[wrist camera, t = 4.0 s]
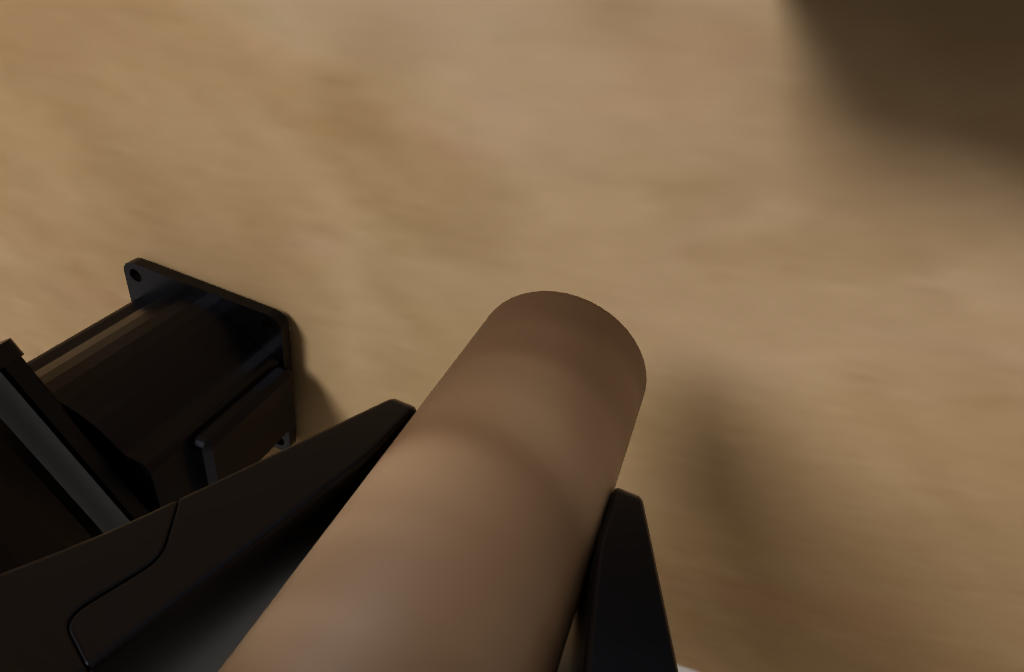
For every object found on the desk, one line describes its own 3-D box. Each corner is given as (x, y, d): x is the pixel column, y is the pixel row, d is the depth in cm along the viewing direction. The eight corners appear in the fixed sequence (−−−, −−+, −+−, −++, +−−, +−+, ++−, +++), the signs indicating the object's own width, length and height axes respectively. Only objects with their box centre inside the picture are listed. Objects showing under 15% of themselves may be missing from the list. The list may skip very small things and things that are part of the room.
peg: (469, 400, 13) (160, 860, 7) (491, 267, 11) (83, 737, 5) (619, 458, 12) (434, 1027, 6) (670, 328, 10) (479, 964, 4)
